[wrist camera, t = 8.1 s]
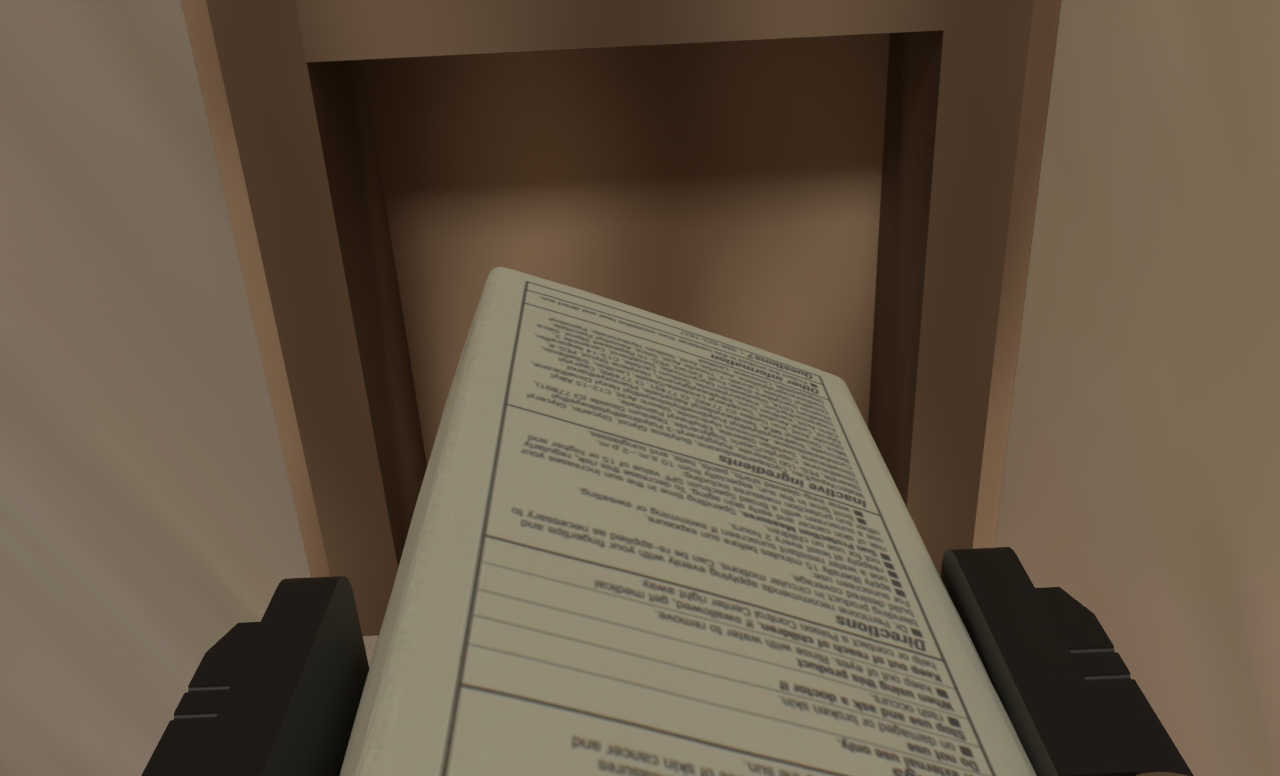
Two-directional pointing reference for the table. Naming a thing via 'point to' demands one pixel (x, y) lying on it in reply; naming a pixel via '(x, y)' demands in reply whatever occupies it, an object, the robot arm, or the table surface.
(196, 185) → the table surface
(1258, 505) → the table surface
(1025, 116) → the brown wooden tray
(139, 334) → the table surface
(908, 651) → the skincare box
